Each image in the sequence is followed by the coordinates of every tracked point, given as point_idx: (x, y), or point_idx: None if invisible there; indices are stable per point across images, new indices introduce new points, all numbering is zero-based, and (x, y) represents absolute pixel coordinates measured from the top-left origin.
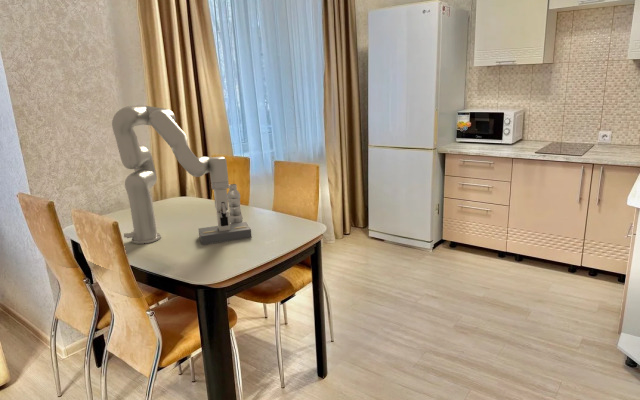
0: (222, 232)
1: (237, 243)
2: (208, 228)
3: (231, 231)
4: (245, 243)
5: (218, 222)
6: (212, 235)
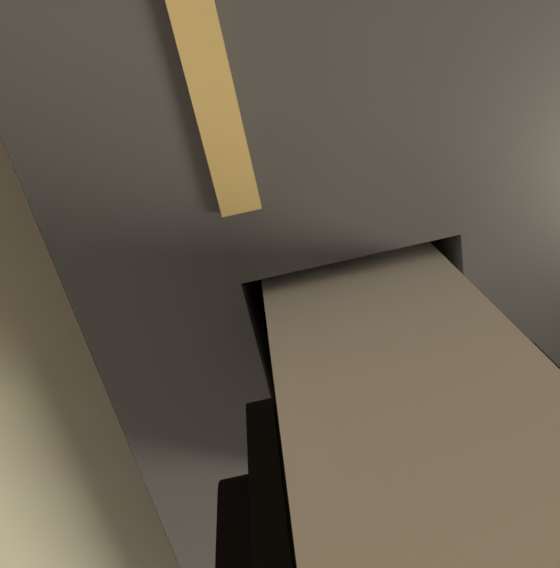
0: (147, 362)
1: (39, 468)
2: (526, 25)
3: (176, 494)
4: (32, 545)
5: (288, 403)
6: (22, 175)
